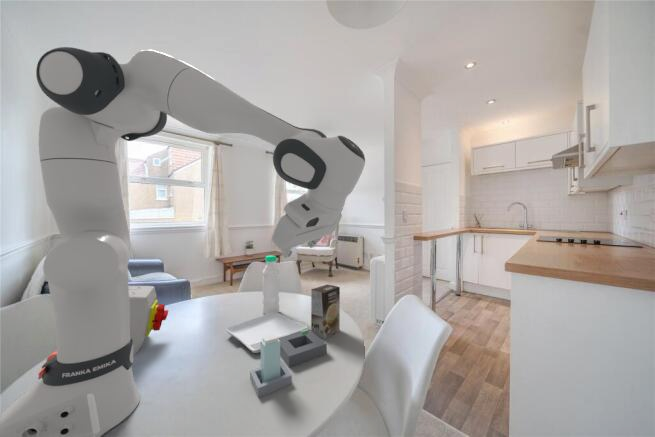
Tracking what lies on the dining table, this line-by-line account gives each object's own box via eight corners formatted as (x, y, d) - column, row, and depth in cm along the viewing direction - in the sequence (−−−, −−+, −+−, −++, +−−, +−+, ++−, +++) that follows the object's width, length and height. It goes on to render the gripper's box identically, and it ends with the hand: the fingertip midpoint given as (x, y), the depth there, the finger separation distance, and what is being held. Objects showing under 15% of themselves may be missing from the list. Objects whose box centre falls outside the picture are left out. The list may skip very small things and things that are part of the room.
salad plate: (224, 337, 83) (224, 327, 83) (275, 318, 99) (275, 310, 99) (253, 362, 69) (253, 350, 69) (309, 336, 84) (309, 326, 84)
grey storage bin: (258, 401, 53) (258, 388, 53) (250, 382, 59) (249, 370, 59) (291, 387, 58) (291, 375, 58) (280, 371, 64) (280, 360, 64)
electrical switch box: (157, 357, 74) (168, 293, 76) (94, 364, 67) (107, 293, 69) (164, 337, 87) (173, 282, 89) (112, 340, 80) (123, 281, 82)
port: (289, 371, 64) (289, 354, 64) (275, 351, 73) (275, 337, 73) (326, 357, 70) (326, 341, 70) (309, 341, 80) (309, 327, 80)
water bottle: (261, 311, 106) (261, 255, 106) (277, 308, 109) (276, 254, 109) (264, 317, 99) (264, 257, 99) (280, 314, 102) (280, 256, 102)
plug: (264, 387, 56) (264, 342, 56) (260, 380, 59) (260, 337, 59) (280, 381, 58) (280, 338, 58) (276, 374, 61) (276, 333, 61)
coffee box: (324, 339, 80) (324, 292, 80) (310, 334, 84) (310, 289, 84) (340, 330, 88) (340, 286, 88) (326, 325, 92) (326, 283, 92)
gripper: (336, 196, 64) (316, 234, 71) (279, 204, 48) (259, 252, 55) (353, 210, 61) (330, 248, 68) (299, 224, 45) (276, 271, 52)
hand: (298, 250), depth 61 cm, fingers open, 8 cm apart
